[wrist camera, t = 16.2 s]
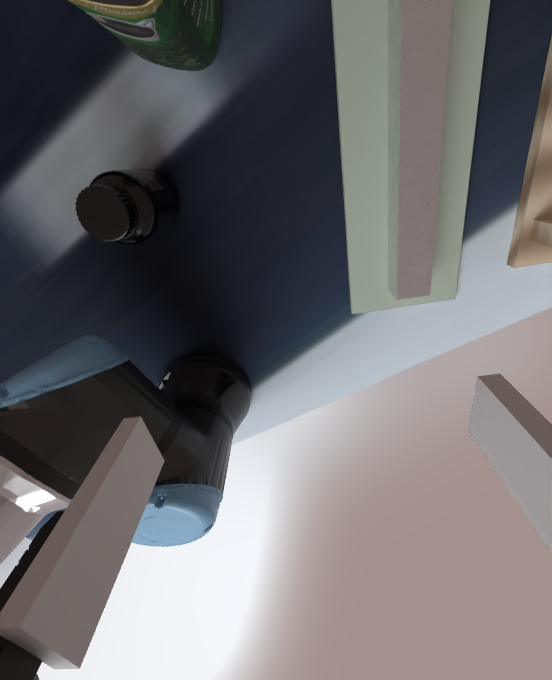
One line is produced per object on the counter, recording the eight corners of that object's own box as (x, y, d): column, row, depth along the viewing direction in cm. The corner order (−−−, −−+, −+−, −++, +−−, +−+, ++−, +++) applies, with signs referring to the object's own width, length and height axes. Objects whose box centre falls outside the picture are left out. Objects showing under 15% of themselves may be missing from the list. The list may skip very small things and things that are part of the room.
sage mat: (452, 296, 43) (455, 299, 42) (350, 311, 44) (352, 314, 44) (506, -190, 23) (513, -201, 23) (322, -132, 25) (323, -141, 24)
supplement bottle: (114, 178, 37) (46, 185, 26) (166, 161, 36) (116, 160, 25) (141, 236, 40) (90, 261, 30) (189, 221, 39) (154, 242, 28)
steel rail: (418, 284, 41) (430, 295, 38) (387, 288, 42) (396, 300, 38) (438, -116, 25) (463, -161, 21) (387, -101, 25) (404, -143, 22)
